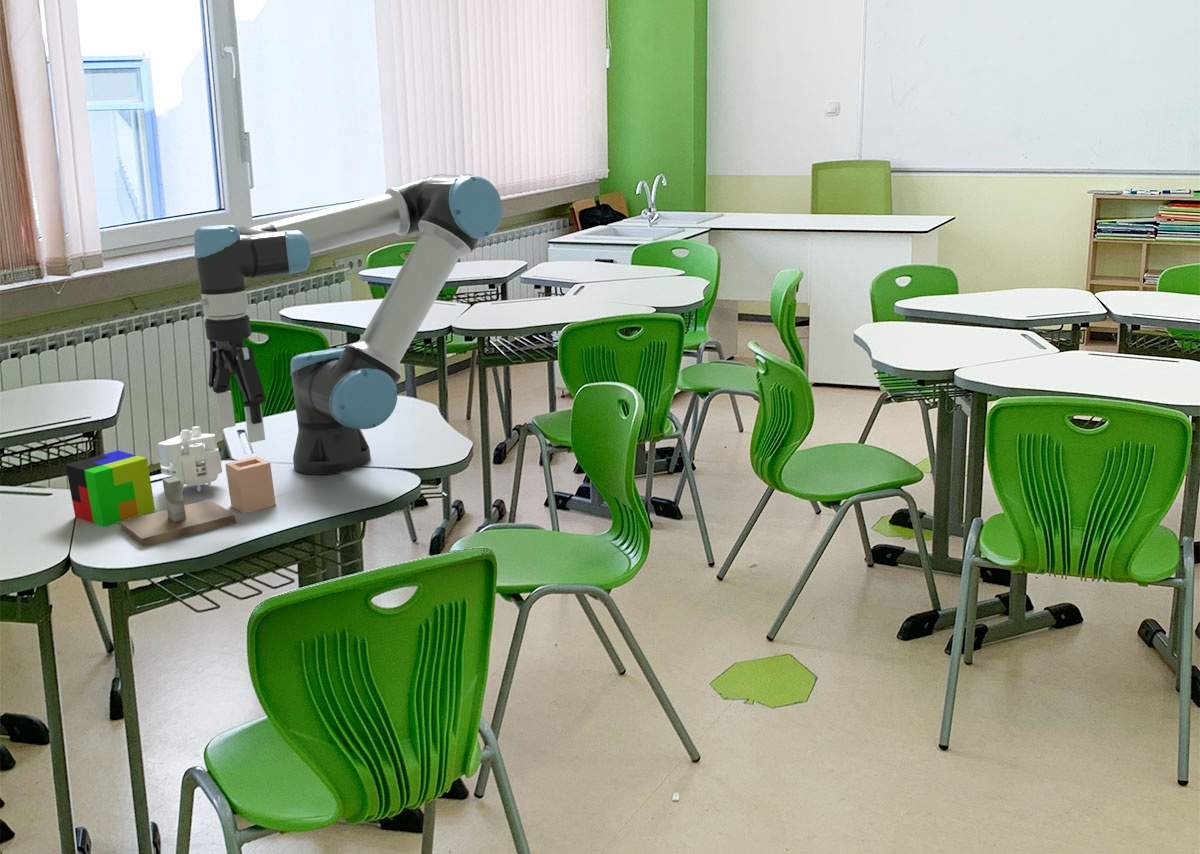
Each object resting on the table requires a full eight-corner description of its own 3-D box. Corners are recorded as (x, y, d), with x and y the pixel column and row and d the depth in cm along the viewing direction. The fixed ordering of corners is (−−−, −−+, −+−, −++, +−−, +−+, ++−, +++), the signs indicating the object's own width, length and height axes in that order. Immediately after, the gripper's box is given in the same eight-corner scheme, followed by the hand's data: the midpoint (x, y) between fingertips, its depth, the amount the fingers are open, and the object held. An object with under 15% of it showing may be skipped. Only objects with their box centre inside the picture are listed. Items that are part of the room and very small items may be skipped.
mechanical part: (213, 474, 232) (204, 417, 229) (234, 488, 223) (225, 428, 220) (155, 487, 226) (146, 428, 223) (174, 502, 216) (165, 440, 213)
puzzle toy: (126, 501, 219) (118, 450, 216) (155, 510, 212) (146, 458, 210) (75, 517, 211) (65, 464, 209) (103, 527, 205) (93, 473, 202)
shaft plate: (211, 507, 212) (204, 462, 210) (236, 522, 203) (229, 476, 201) (120, 529, 203) (112, 483, 201) (143, 547, 194) (134, 498, 192)
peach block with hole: (262, 497, 216) (256, 456, 214) (275, 504, 212) (270, 462, 209) (231, 505, 213) (225, 463, 211) (243, 513, 208) (237, 470, 206)
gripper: (180, 311, 210) (196, 425, 216) (232, 327, 191) (248, 451, 197) (221, 306, 215) (235, 417, 220) (276, 320, 196) (290, 442, 201)
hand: (241, 434), depth 208 cm, fingers open, 13 cm apart
